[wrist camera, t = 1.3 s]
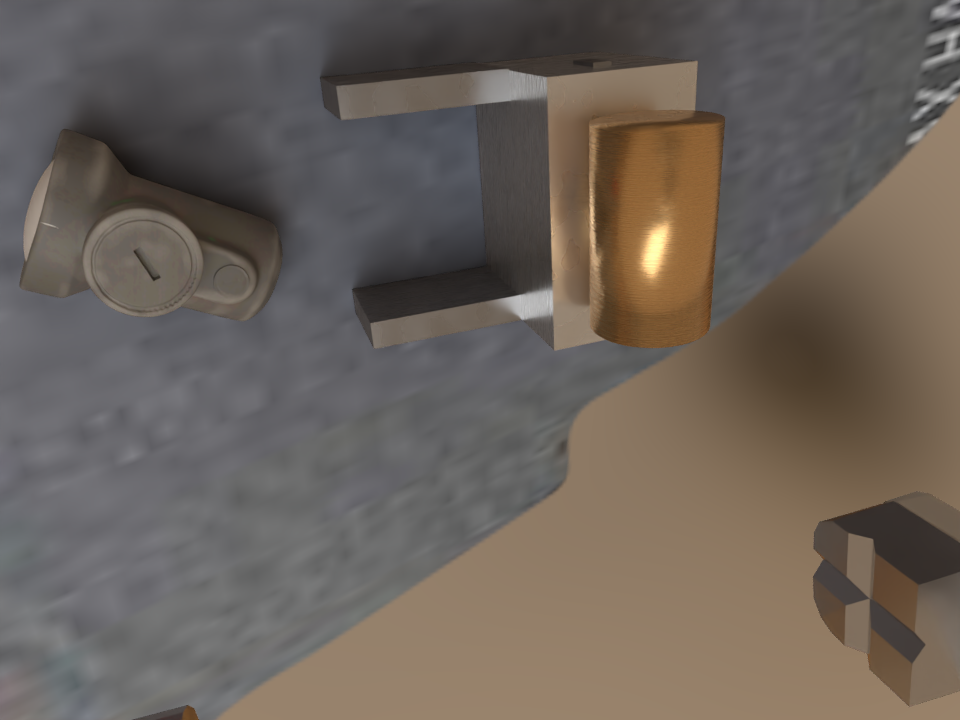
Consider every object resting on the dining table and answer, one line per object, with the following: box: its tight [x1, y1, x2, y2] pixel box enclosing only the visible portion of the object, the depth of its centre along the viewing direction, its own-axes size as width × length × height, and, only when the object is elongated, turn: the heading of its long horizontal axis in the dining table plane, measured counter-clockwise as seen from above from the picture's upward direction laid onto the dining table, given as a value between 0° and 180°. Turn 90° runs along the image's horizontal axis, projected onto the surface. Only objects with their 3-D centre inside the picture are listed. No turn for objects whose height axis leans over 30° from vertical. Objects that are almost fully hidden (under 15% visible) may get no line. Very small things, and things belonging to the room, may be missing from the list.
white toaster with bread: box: [320, 51, 725, 351], centre depth 40 cm, size 14×17×17 cm
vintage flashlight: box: [20, 129, 282, 321], centre depth 38 cm, size 12×8×10 cm
